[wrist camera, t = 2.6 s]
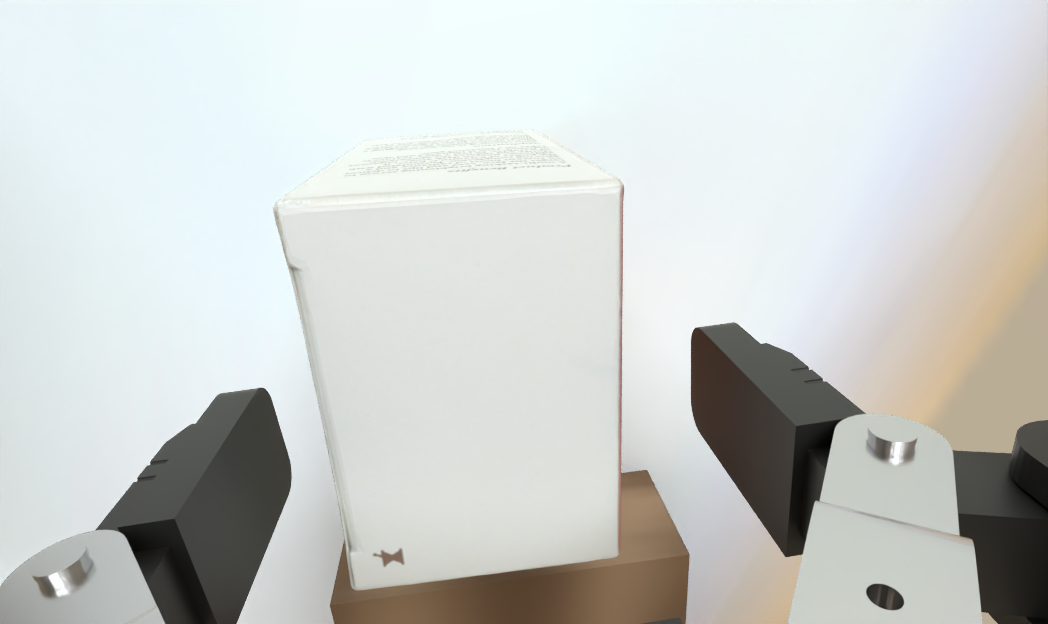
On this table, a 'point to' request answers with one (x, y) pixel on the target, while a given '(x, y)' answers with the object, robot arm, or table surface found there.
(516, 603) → the walnut block
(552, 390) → the small box
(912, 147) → the table surface
